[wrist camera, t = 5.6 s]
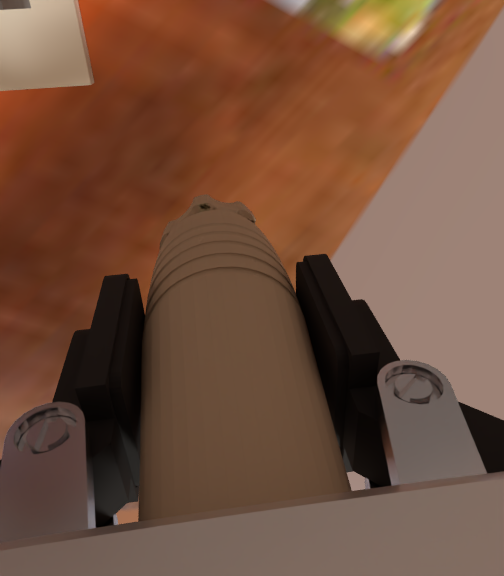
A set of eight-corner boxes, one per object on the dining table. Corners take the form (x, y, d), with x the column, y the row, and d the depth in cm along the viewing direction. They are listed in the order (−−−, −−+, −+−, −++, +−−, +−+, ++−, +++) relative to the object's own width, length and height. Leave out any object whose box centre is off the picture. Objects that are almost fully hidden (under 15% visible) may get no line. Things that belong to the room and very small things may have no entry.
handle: (308, 161, 15) (898, 956, 3) (254, 322, 18) (414, 1045, 6) (157, 123, 14) (-33, 1213, 2) (126, 302, 17) (-22, 1153, 5)
